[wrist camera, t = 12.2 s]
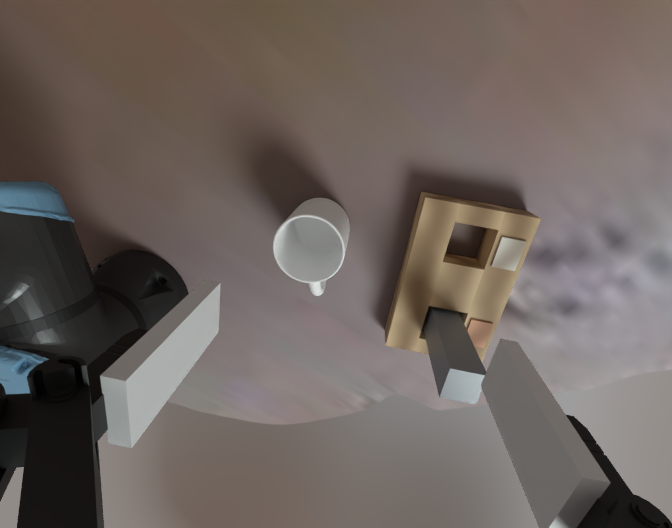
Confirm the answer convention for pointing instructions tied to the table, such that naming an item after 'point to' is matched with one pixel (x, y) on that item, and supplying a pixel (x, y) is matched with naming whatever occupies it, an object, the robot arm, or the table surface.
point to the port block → (458, 269)
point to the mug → (312, 242)
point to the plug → (453, 356)
